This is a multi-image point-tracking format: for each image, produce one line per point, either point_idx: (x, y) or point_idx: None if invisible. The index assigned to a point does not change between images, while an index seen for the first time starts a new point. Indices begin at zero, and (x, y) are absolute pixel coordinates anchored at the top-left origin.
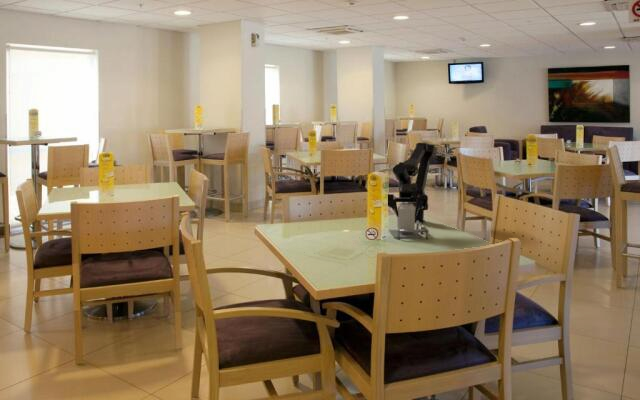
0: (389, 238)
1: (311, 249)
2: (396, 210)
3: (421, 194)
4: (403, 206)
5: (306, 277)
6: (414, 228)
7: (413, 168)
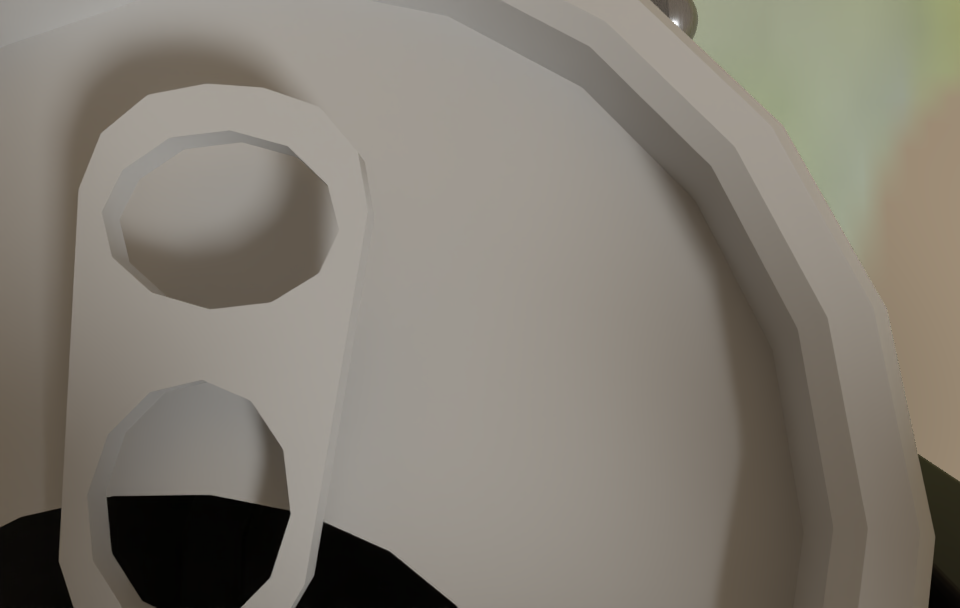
0: (819, 173)
1: None
2: (925, 488)
3: None
4: (555, 21)
5: None
6: (187, 497)
7: None
